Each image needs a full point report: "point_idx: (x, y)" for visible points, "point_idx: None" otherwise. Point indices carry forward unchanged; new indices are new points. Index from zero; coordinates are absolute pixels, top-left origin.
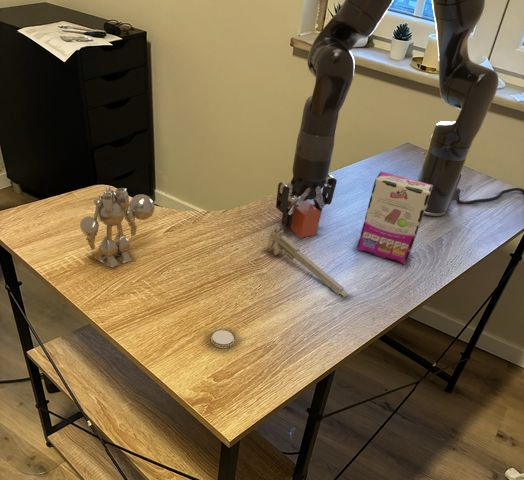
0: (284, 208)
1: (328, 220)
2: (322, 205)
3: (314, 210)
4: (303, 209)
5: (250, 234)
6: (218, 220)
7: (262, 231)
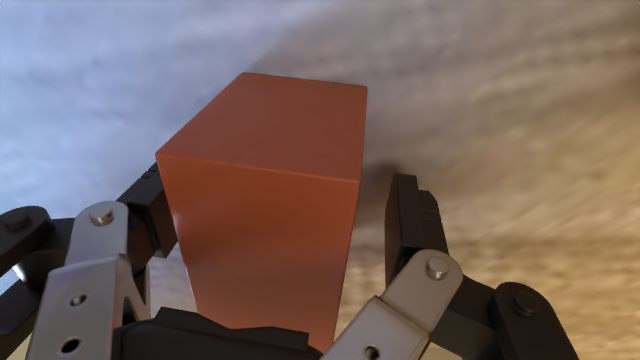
0: (539, 330)
1: (103, 152)
2: (99, 218)
3: (209, 198)
4: (297, 249)
5: (581, 240)
6: (578, 350)
7: (500, 231)
